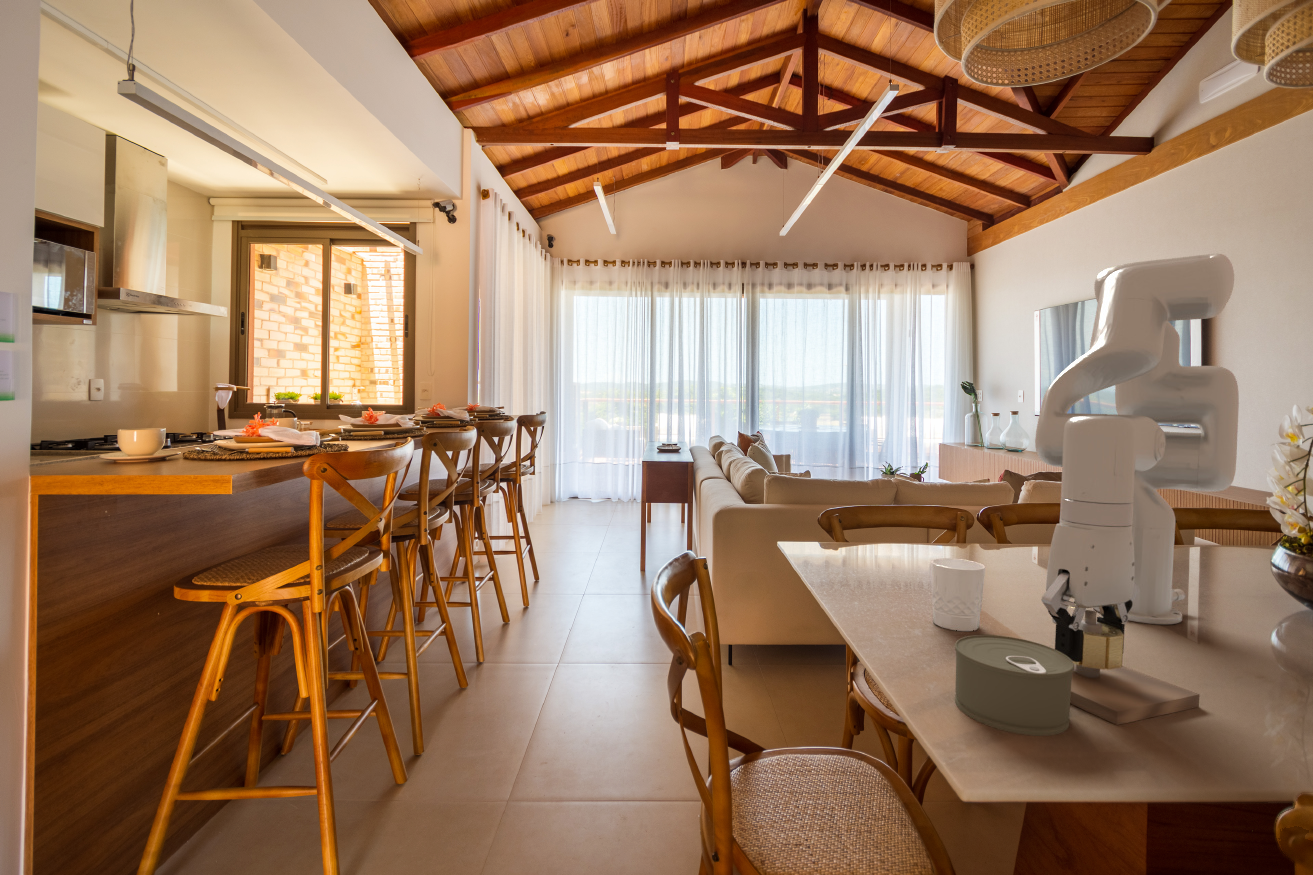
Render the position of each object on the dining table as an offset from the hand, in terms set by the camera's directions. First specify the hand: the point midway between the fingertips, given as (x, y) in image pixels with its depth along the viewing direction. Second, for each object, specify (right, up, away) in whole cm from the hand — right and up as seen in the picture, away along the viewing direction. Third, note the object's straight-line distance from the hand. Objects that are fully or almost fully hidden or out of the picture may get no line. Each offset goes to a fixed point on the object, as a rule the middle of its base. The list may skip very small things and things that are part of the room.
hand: (1088, 653), depth 82 cm
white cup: (-6, -3, +23) cm, 24 cm away
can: (-14, -5, -7) cm, 16 cm away
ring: (0, -1, 0) cm, 1 cm away
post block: (0, -4, 0) cm, 4 cm away
